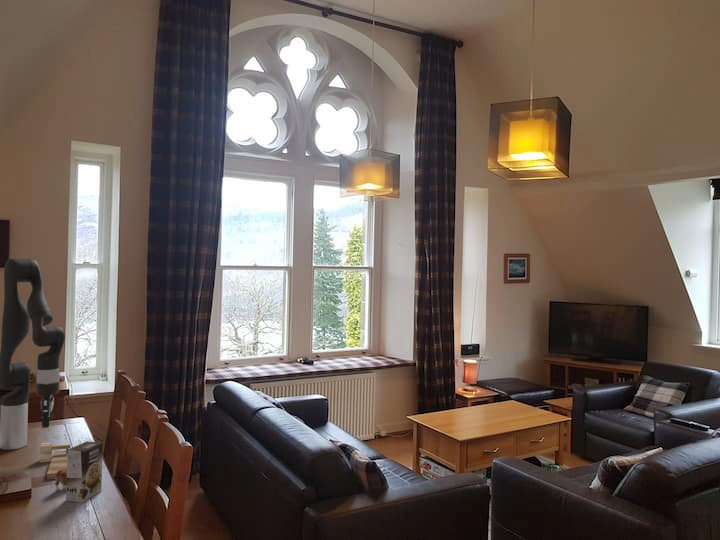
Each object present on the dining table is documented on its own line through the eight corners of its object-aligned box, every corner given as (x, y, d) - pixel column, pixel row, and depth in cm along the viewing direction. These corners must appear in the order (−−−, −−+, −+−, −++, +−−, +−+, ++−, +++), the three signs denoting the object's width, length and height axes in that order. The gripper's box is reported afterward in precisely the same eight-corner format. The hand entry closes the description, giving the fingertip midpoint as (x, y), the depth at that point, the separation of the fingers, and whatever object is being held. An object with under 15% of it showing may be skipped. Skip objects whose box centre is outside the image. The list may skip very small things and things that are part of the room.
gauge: (41, 459, 205) (41, 443, 205) (70, 456, 209) (70, 440, 209) (39, 462, 202) (40, 446, 202) (69, 459, 206) (70, 443, 206)
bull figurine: (93, 479, 189) (94, 455, 189) (60, 494, 176) (61, 468, 176) (83, 477, 190) (84, 453, 190) (50, 491, 177) (50, 466, 177)
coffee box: (83, 503, 170) (84, 451, 170) (64, 500, 171) (66, 449, 171) (102, 491, 179) (103, 442, 179) (85, 489, 180) (86, 440, 180)
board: (53, 456, 209) (53, 451, 209) (70, 455, 211) (70, 449, 211) (46, 479, 187) (46, 473, 187) (64, 477, 189) (65, 471, 189)
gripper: (38, 377, 209) (37, 420, 209) (33, 385, 196) (32, 430, 196) (61, 376, 212) (60, 418, 212) (57, 383, 199) (56, 428, 199)
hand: (46, 424), depth 204 cm, fingers open, 8 cm apart
